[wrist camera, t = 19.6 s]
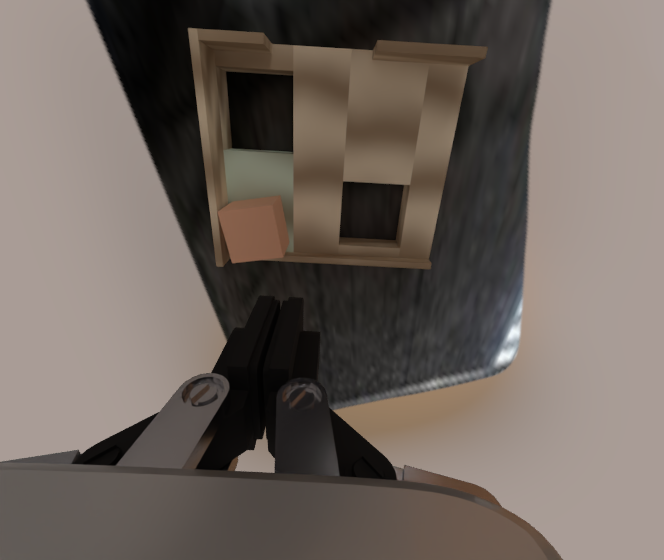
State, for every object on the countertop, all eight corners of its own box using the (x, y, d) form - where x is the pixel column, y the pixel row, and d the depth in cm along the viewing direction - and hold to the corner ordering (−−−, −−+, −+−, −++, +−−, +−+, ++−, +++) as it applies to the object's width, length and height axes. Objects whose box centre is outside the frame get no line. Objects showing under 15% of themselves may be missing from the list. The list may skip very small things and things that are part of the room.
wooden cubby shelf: (216, 47, 25) (187, 28, 20) (458, 62, 26) (487, 47, 21) (234, 245, 33) (216, 266, 28) (421, 256, 33) (436, 278, 28)
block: (232, 201, 28) (217, 211, 25) (280, 195, 28) (272, 205, 25) (244, 247, 30) (232, 263, 27) (289, 242, 30) (283, 257, 26)
